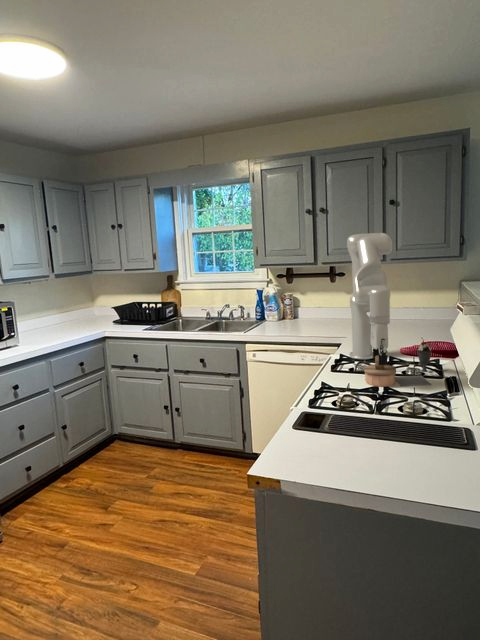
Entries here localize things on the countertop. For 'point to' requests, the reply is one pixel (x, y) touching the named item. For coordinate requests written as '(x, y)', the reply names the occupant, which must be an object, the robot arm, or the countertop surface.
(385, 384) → the bowl
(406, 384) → the mat
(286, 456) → the countertop surface
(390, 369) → the lid
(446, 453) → the countertop surface
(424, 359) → the sundae
